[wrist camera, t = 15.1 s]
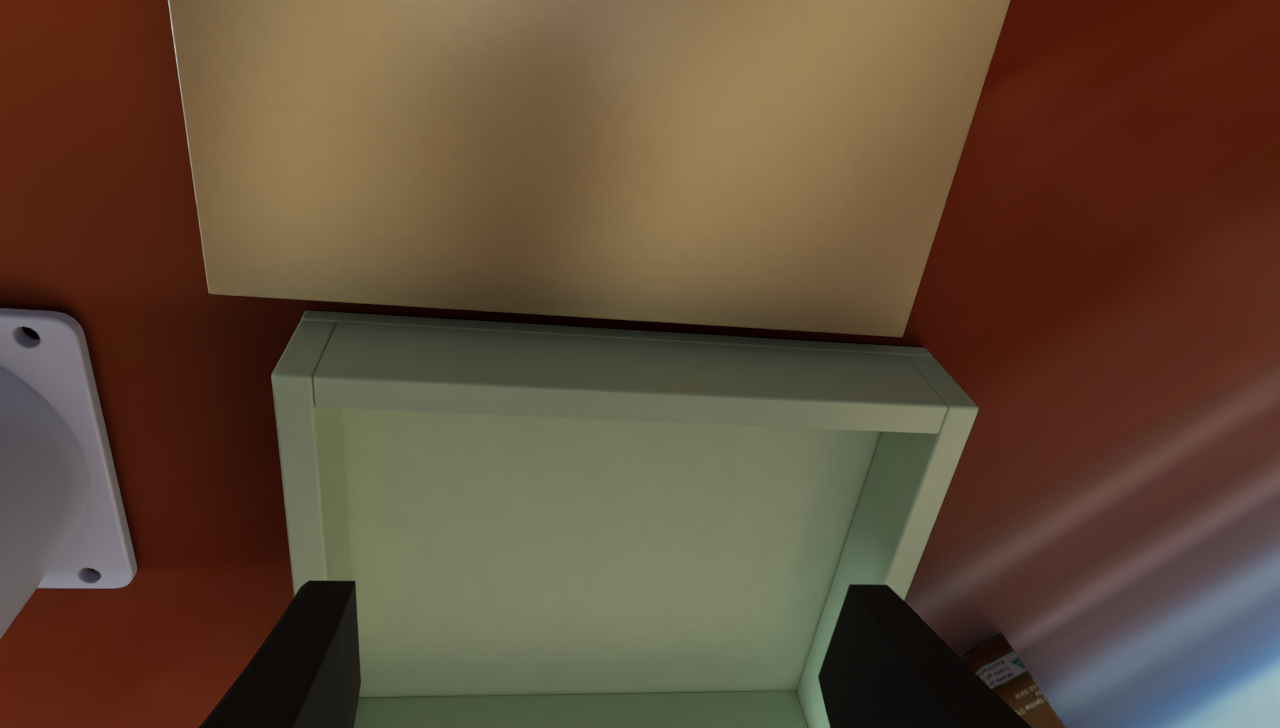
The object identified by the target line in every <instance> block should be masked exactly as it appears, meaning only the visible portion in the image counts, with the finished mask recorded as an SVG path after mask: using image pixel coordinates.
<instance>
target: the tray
mask: <svg viewBox="0 0 1280 728" xmlns="http://www.w3.org/2000/svg"><path fill="white" fill-rule="evenodd" d="M271 379H272V389H273V398H274V408H275V417H276V427H277V436H278V446H279V456H280V465H281V475H282V484H283V494H284V503H285V513H286V523H287V532H288V542H289V551H290V561H291V570H292V580H293V590H294V597H295V595H296V593H297V592H298V590H299V589H300V587H301V586H302V585H304V584H305V583H306V582H308V581H309V580H313V581H355V582H356V601H357V619H358V637H359V656H360V674H361V686H360V692H359V698H358V705H357V711H356V717H355V724H354V728H830V725H829V721H828V718H827V714H826V709H825V705H824V701H823V696H822V692H821V688H820V684H819V679H818V675H819V672H820V669H821V666H822V664H823V661H824V658H825V655H826V652H827V649H828V646H829V643H830V640H831V637H832V634H833V631H834V628H835V625H836V623H837V620H838V617H839V614H840V611H841V608H842V605H843V602H844V599H845V596H846V593H847V590H848V587H849V584H875V585H888V586H889V587H890V588H891V589H892V590H893V591H894V592H895V593H896V594H897V595H898V596H899V597H900V598H901V599H902V600H903V601H904V599H905V597H906V594H907V592H908V589H909V587H910V584H911V582H912V579H913V576H914V574H915V571H916V569H917V566H918V564H919V561H920V558H921V556H922V553H923V551H924V548H925V546H926V543H927V541H928V538H929V535H930V533H931V530H932V528H933V525H934V523H935V520H936V517H937V515H938V512H939V510H940V507H941V505H942V502H943V500H944V497H945V494H946V492H947V489H948V487H949V484H950V482H951V479H952V476H953V474H954V471H955V469H956V466H957V464H958V461H959V459H960V456H961V453H962V451H963V448H964V446H965V443H966V441H967V438H968V435H969V433H970V430H971V428H972V425H973V423H974V420H975V418H976V415H977V412H978V406H977V405H976V404H975V403H974V402H973V401H972V400H971V399H970V397H969V396H968V395H967V394H966V393H965V392H964V391H963V390H962V389H961V387H960V386H959V385H958V384H957V383H956V382H955V381H954V380H953V379H952V377H951V376H950V375H949V374H948V373H947V372H946V371H945V370H944V369H943V367H942V366H941V365H940V364H939V363H938V362H937V361H936V360H935V359H934V358H933V356H932V355H931V353H930V352H929V351H928V350H927V349H926V348H920V347H904V346H887V345H871V344H854V343H838V342H821V341H805V340H788V339H772V338H755V337H739V336H723V335H706V334H690V333H673V332H657V331H640V330H624V329H607V328H591V327H574V326H558V325H541V324H525V323H508V322H492V321H475V320H459V319H442V318H426V317H409V316H393V315H376V314H360V313H343V312H327V311H310V310H307V311H305V313H304V314H303V316H302V318H301V321H300V323H299V325H298V326H297V328H296V330H295V332H294V334H293V336H292V337H291V339H290V341H289V343H288V345H287V347H286V348H285V350H284V352H283V354H282V356H281V358H280V360H279V361H278V363H277V365H276V367H275V369H274V371H273V372H272V375H271Z"/></svg>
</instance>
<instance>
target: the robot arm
mask: <svg viewBox="0 0 1280 728" xmlns="http://www.w3.org/2000/svg"><path fill="white" fill-rule="evenodd" d="M23 326H24V327H28V328H31V329H33V330H34V331H35V332H37V334H38V335H39V337H40V340H38V339H34V338H31V337H30V336H28V335H27V334H26V333H25V332H24V330H23ZM88 568H92V569H95V570H96V571H98V572H95V571H92V570H90V569H88ZM136 572H137V564H136V559H135V555H134V551H133V546H132V542H131V537H130V533H129V528H128V524H127V520H126V515H125V511H124V506H123V502H122V497H121V493H120V489H119V484H118V480H117V475H116V471H115V466H114V462H113V458H112V453H111V449H110V444H109V440H108V436H107V431H106V427H105V422H104V418H103V413H102V409H101V405H100V400H99V396H98V391H97V387H96V382H95V378H94V374H93V369H92V365H91V360H90V356H89V351H88V347H87V343H86V338H85V334H84V331H83V329H82V327H81V325H80V324H79V323H78V322H77V321H76V320H75V319H74V318H73V317H71V316H69V315H67V314H65V313H61V312H56V311H42V310H25V309H8V308H0V639H1V637H2V636H3V634H4V633H5V632H6V630H7V629H8V627H9V626H10V625H11V623H12V622H13V620H14V619H15V618H16V616H17V615H18V613H19V612H20V611H21V609H22V608H23V606H24V605H25V604H26V602H27V601H28V599H29V598H30V597H31V595H32V594H33V592H34V591H35V590H36V588H121V587H124V586H126V585H128V584H129V583H130V582H131V580H132V579H133V577H134V576H135V574H136ZM818 679H819V684H820V688H821V692H822V696H823V701H824V705H825V709H826V714H827V718H828V721H829V725H830V728H1032V727H1031V726H1030V725H1029V724H1028V723H1027V722H1026V721H1025V720H1024V719H1022V718H1021V717H1020V716H1019V715H1018V714H1017V713H1016V712H1015V711H1014V710H1013V709H1012V708H1011V707H1010V706H1009V705H1008V704H1006V703H1005V702H1004V701H1003V700H1002V699H1001V698H1000V697H999V696H998V695H997V694H996V693H995V692H994V691H993V690H992V689H991V688H990V687H989V686H988V685H987V684H986V683H985V682H984V681H983V680H982V679H981V678H980V677H979V676H978V675H977V674H976V673H975V672H974V671H973V670H972V669H971V668H970V667H969V666H968V665H967V664H966V663H965V662H964V661H963V660H962V659H961V658H960V657H959V656H958V655H957V654H956V653H955V652H954V651H953V650H952V649H951V648H950V647H949V646H948V645H947V644H946V643H945V642H944V641H943V640H942V639H941V638H940V637H939V636H938V635H937V634H936V633H935V632H934V631H933V630H932V629H931V628H930V627H929V626H928V625H927V624H926V623H925V622H924V621H923V620H922V619H921V618H920V617H919V616H918V615H917V614H916V613H915V612H914V611H913V610H912V609H911V608H910V607H909V606H908V605H907V604H906V603H905V602H904V601H903V600H902V599H901V598H900V597H899V596H898V595H897V594H896V593H895V592H894V591H893V590H892V589H891V588H890V587H889V586H888V585H875V584H849V587H848V590H847V593H846V596H845V599H844V602H843V605H842V608H841V611H840V614H839V617H838V620H837V623H836V625H835V628H834V631H833V634H832V637H831V640H830V643H829V646H828V649H827V652H826V655H825V658H824V661H823V664H822V666H821V669H820V672H819V675H818ZM360 686H361V674H360V656H359V637H358V619H357V601H356V582H355V581H313V580H309V581H308V582H306V583H305V584H304V585H302V586H301V587H300V589H299V590H298V592H297V593H296V595H295V597H294V598H293V600H292V601H291V603H290V605H289V606H288V608H287V609H286V611H285V612H284V614H283V615H282V617H281V618H280V620H279V621H278V623H277V624H276V626H275V627H274V629H273V630H272V632H271V633H270V634H269V636H268V637H267V639H266V640H265V642H264V643H263V644H262V646H261V647H260V649H259V650H258V651H257V653H256V654H255V655H254V657H253V658H252V660H251V661H250V662H249V664H248V665H247V667H246V668H245V669H244V671H243V672H242V673H241V674H240V676H239V677H238V678H237V680H236V681H235V682H234V684H233V685H232V686H231V687H230V689H229V690H228V691H227V693H226V694H225V695H224V697H223V698H222V699H221V700H220V702H219V703H218V704H217V706H216V707H215V708H214V710H213V711H212V712H211V713H210V715H209V716H208V717H207V718H206V720H205V721H204V722H203V723H202V725H201V726H200V727H199V728H354V724H355V717H356V711H357V705H358V698H359V692H360Z"/></svg>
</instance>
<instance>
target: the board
mask: <svg viewBox="0 0 1280 728" xmlns="http://www.w3.org/2000/svg"><path fill="white" fill-rule="evenodd" d="M1009 3H1010V0H168V5H169V12H170V20H171V27H172V34H173V41H174V48H175V55H176V63H177V70H178V77H179V84H180V91H181V98H182V106H183V113H184V120H185V127H186V134H187V141H188V149H189V156H190V163H191V170H192V177H193V184H194V192H195V199H196V206H197V213H198V220H199V228H200V235H201V242H202V249H203V256H204V263H205V271H206V278H207V285H208V292H209V294H219V295H234V296H250V297H266V298H282V299H298V300H314V301H330V302H346V303H362V304H378V305H394V306H410V307H426V308H442V309H458V310H474V311H490V312H506V313H522V314H538V315H554V316H570V317H586V318H602V319H618V320H634V321H649V322H665V323H681V324H697V325H713V326H729V327H745V328H761V329H777V330H793V331H809V332H825V333H841V334H857V335H873V336H889V337H903V334H904V331H905V328H906V325H907V322H908V318H909V315H910V312H911V309H912V306H913V303H914V300H915V297H916V293H917V290H918V287H919V284H920V281H921V278H922V275H923V272H924V269H925V265H926V262H927V259H928V256H929V253H930V250H931V247H932V244H933V240H934V237H935V234H936V231H937V228H938V225H939V222H940V219H941V215H942V212H943V209H944V206H945V203H946V200H947V197H948V194H949V190H950V187H951V184H952V181H953V178H954V175H955V172H956V169H957V165H958V162H959V159H960V156H961V153H962V150H963V147H964V144H965V141H966V137H967V134H968V131H969V128H970V125H971V122H972V119H973V116H974V112H975V109H976V106H977V103H978V100H979V97H980V94H981V91H982V87H983V84H984V81H985V78H986V75H987V72H988V69H989V66H990V62H991V59H992V56H993V53H994V50H995V47H996V44H997V41H998V38H999V34H1000V31H1001V28H1002V25H1003V22H1004V19H1005V16H1006V13H1007V9H1008V6H1009Z"/></svg>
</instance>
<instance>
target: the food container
mask: <svg viewBox="0 0 1280 728" xmlns="http://www.w3.org/2000/svg"><path fill="white" fill-rule="evenodd" d="M962 660H963V661H964V662H965V663H966V664H967V665H968V666H969V667H970V668H971V669H972V670H973V671H974V672H975V673H976V674H977V675H978V676H979V677H980V678H981V679H982V680H983V681H984V682H985V683H986V684H987V685H988V686H989V687H990V688H991V689H992V690H993V691H994V692H995V693H996V694H997V695H998V696H999V697H1000V698H1001V699H1002V700H1003V701H1004V702H1005V703H1006V704H1008V705H1009V706H1010V707H1011V708H1012V709H1013V710H1014V711H1015V712H1016V713H1017V714H1018V715H1019V716H1020V717H1021V718H1022V719H1024V720H1025V721H1026V722H1027V723H1028V724H1029V725H1030V726H1031V727H1032V728H1065V727H1064V726H1063V724H1062V723H1061V721H1060V720H1059V718H1058V717H1057V715H1056V714H1055V712H1054V711H1053V709H1052V707H1051V706H1050V704H1049V703H1048V701H1047V700H1046V698H1045V697H1044V695H1043V694H1042V692H1041V691H1040V689H1039V688H1038V686H1037V685H1036V683H1035V682H1034V680H1033V679H1032V677H1031V676H1030V674H1029V673H1028V671H1027V670H1026V668H1025V667H1024V665H1023V664H1022V662H1021V661H1020V659H1019V658H1018V656H1017V655H1016V653H1015V652H1014V650H1013V649H1012V647H1011V646H1010V644H1009V643H1008V641H1007V640H1006V638H1005V636H1004V635H1003V634H1001V635H1000V636H998V637H996V638H994V639H992V640H990V641H988V642H986V643H985V644H983V645H981V646H979V647H977V648H975V649H973V650H972V651H971V652H969V653H968V654H967V655H966V656H964V657H963V658H962Z"/></svg>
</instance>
